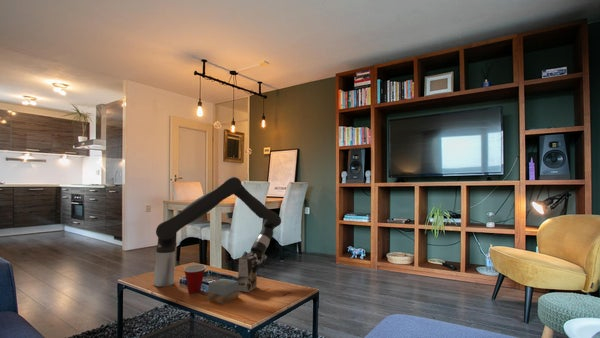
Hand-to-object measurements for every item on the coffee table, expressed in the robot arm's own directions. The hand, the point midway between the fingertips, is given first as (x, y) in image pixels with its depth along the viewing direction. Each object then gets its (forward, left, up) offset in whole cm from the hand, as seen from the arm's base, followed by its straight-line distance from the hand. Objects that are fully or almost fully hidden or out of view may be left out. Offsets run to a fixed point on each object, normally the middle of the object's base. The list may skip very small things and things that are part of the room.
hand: (247, 271), depth 162 cm
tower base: (-1, -16, -10) cm, 19 cm away
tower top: (-1, -16, -6) cm, 17 cm away
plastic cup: (-20, -16, -9) cm, 27 cm away
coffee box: (0, +1, -9) cm, 9 cm away
